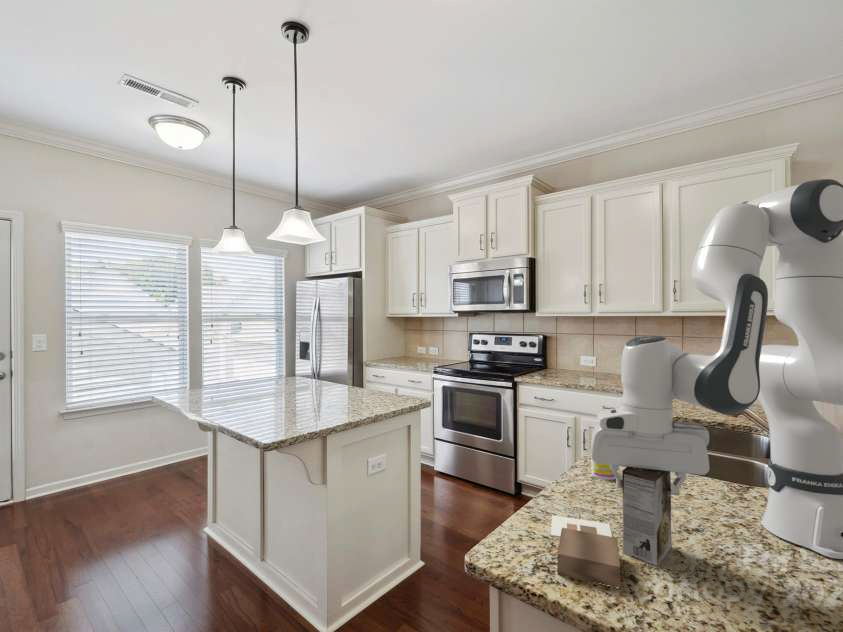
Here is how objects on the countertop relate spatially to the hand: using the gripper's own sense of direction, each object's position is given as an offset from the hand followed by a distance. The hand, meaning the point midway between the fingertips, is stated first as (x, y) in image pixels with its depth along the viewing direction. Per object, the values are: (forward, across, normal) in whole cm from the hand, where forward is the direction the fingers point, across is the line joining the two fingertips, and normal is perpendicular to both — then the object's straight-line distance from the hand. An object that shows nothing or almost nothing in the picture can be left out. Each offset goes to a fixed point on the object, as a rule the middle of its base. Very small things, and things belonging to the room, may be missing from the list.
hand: (646, 490), depth 80 cm
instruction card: (+12, +12, -4) cm, 17 cm away
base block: (+12, +11, +9) cm, 19 cm away
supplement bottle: (+12, +5, -38) cm, 40 cm away
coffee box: (+12, 0, 0) cm, 12 cm away
